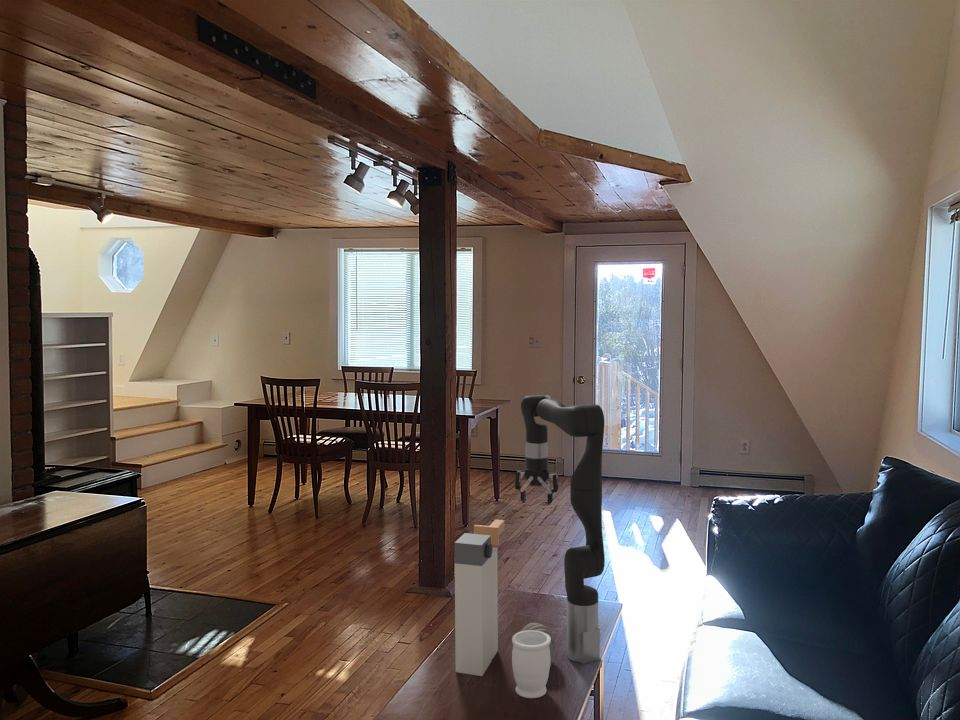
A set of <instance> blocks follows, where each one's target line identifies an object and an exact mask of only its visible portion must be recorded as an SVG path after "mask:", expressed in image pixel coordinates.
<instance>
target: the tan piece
mask: <svg viewBox="0 0 960 720" xmlns="http://www.w3.org/2000/svg"><path fill="white" fill-rule="evenodd" d="M504 531H505V519H494V520H493V521H492V522H491V524H490V525H481V524H474V525H473V534H481V535H491V544H492V546H499V545H500V535H501V534H502V533H503V532H504Z"/></svg>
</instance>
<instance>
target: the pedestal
mask: <svg viewBox="0 0 960 720" xmlns="http://www.w3.org/2000/svg"><path fill="white" fill-rule="evenodd" d="M498 551H499V550H498V547H494V546H493V545H492V544H491V535H481V534H474V533H469V532H464V533H463V534H462V535H461V536H459V537H458V539H457V540H456V541H454V614H455V615H454V618H455V619H454V622H455V623H454V625H455V626H454V627H455V628H454V630H455V631H454V632H455V634H454V635H455V638H454V640H455V647H454V648H455V649H454V650H455V652H454V653H455V673H459V674H465V675H466V674H467V675H473V676H477V677H478V676H480V677H483V676H484V675H485V673H486V671H487V670H488V668H489V666H490V665H491V663H492V662H493V660H494V658H495V657H496V655H497V653H498V648H499V637H498V635H499V633H498V632H499V631H498V629H499V623H498V622H499V620H498V619H499V617H498V616H499V613H498V612H499V608H498V607H499V606H498V601H499V599H498V598H499V596H498V594H499V591H498V588H499V587H498V586H499V583H498V577H499V576H498V574H499V573H498V567H499V566H498V562H499V561H498V560H499V557H498V553H499V552H498ZM492 659H493V660H492Z"/></svg>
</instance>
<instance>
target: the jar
mask: <svg viewBox="0 0 960 720" xmlns="http://www.w3.org/2000/svg"><path fill="white" fill-rule="evenodd" d="M550 642H551V638H550V636H549V635H548V634H546V633H544V632H541V631H536V630H526V631H521V630H520V631H517V632H516V633H514V634H513V635H512V637H511V643H512V644H513V646H512V652H511V665H512V671H513V672H512V673H513V678H514V681H515V683H516V686H515V693H516V694H517V695H518V696H520V697H522V698H526V699H538V698H541V697H543V696H544V695H546V693H547V692H548V691H547V687H546V685H547V683H548V679H549V677H550V675H549V674H550V668H551V667H550V663H551V664H552V656H550V648H549V644H550Z"/></svg>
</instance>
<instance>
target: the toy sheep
mask: <svg viewBox="0 0 960 720" xmlns="http://www.w3.org/2000/svg"><path fill="white" fill-rule="evenodd" d="M526 630H536V631H541V632H544V633H546V634H548V635H549V636H550V638H551V642H550V644H549V648H550V656H551V657H553V655H554V653H555V651H556V647H557V646H556V645H557V643H556V638H555V636H554V633H553V631H552V630H551V629H550V628H549V627H547V626H545V625H544V624H542V623H538V622H530V623H528V624H526V625H525V626H523V628H522V629H521V630H520V632H521V631H526ZM551 667H552V662H551V663H550V668H551Z"/></svg>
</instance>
